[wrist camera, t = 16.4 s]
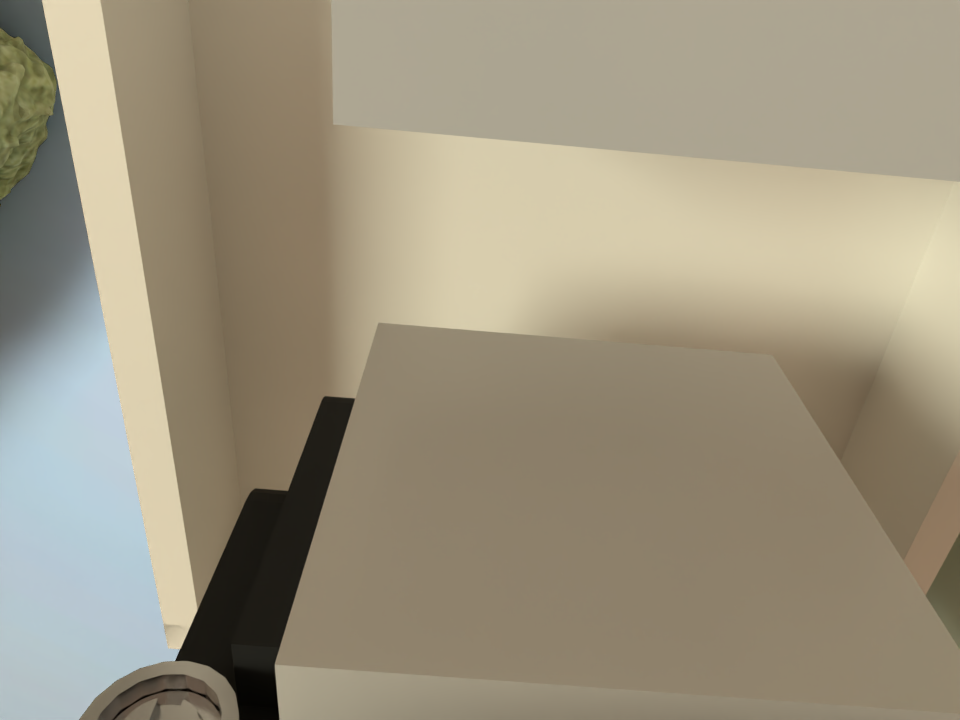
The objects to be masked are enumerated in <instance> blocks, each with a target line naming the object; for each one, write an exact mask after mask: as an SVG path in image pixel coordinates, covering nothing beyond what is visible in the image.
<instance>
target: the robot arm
mask: <svg viewBox="0 0 960 720" xmlns="http://www.w3.org/2000/svg"><path fill="white" fill-rule="evenodd" d="M354 401H355V398H344V397H331V396H324V397H323V399H322V401H321V403H320V406H319V409H318V411H317V414H316V417H315V419H314V422H313V425H312V428H311V430H310V433H309V436H308V438H307V441H306V444H305V446H304V449H303V452H302V454H301V457H300V460H299V462H298V465H297V468H296V470H295V473H294V476H293V478H292V481H291V484H290V487H289V489H288V491H284V490H271V489H258V488H255V489H254V490H252V491H251V492H250V494H249V496H248V497H247V499H246V501H245V503H244V506H243V508H242V510H241V512H240V515H239V517H238V519H237V522H236V524H235V526H234V528H233V531H232V533H231V535H230V537H229V540H228V542H227V544H226V547H225V549H224V551H223V553H222V556H221V558H220V560H219V562H218V565H217V567H216V569H215V572H214V574H213V576H212V578H211V581H210V583H209V585H208V588H207V590H206V592H205V594H204V597H203V599H202V601H201V603H200V606H199V608H198V610H197V613H196V615H195V617H194V619H193V622H192V624H191V626H190V628H189V631H188V633H187V635H186V638H185V640H184V642H183V644H182V647H181V649H180V651H179V653H178V656H177V658H176V660H175V661H170V662H161V663H158V664H154V665H150V666H147V667H143V668H140V669H138V670H136V671H134V672H132V673H130V674H128V675H126V676H124V677H123V678H121V679H119V680H117V681H115V682H114V683H113V684H112V685H111V686H109V687H108V688H107V689H106V690H105V691H103V692H102V693H101V694H100V695H99V696H97V697H96V698H95V699H94V701H93V702H92V703H91V705H90V706H89V707H88V708H87V710H86V711H85V712H84V714H83V715H82V716H81V718H80V719H79V720H280V719H279V708H278V697H277V686H276V675H275V662H276V658H277V655H278V652H279V648H280V645H281V642H282V639H283V635H284V632H285V629H286V625H287V622H288V619H289V616H290V612H291V609H292V606H293V602H294V599H295V596H296V592H297V589H298V586H299V583H300V579H301V576H302V573H303V569H304V566H305V563H306V560H307V556H308V553H309V550H310V546H311V543H312V540H313V536H314V533H315V530H316V527H317V523H318V520H319V517H320V513H321V510H322V507H323V504H324V500H325V497H326V494H327V490H328V487H329V484H330V480H331V477H332V474H333V471H334V467H335V464H336V461H337V457H338V454H339V451H340V448H341V444H342V441H343V438H344V434H345V431H346V428H347V424H348V421H349V418H350V415H351V411H352V408H353V405H354Z"/></svg>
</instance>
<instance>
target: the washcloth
mask: <svg viewBox="0 0 960 720" xmlns="http://www.w3.org/2000/svg"><path fill="white" fill-rule="evenodd" d="M56 89H57V81H56V78H55V75H54V72H53V69H52V68H51V67H50V66H49V65H48V64H46V63H44V62H43V61H41V60H40V59H39V57H38V56H37V55H36V54H35V53H34V52H33V51H32V50H31V49H29V48H28V47H27V46H25V45H24V42H23V40H22V39H21V38H20V37H16V38H13V37H11V36H9V35H8V34H7V33H6V32H5V31H4V30H3V29H1V28H0V200H1V199H2V198H4V197H5V196H7V194H9V193H11V189H12V188H13V187H14V186H15V185H16V184H17V183H18V182H19V181H20V180H21V179H23V178H24V177H25V176H26V175H28V174H29V172H30V170H31V167H32V165H33V162H34V160H35V158H36V154H37V149H38V147H39V146H40V145H41V144H42V143H43V142H44V141H45V140H46V138H47V135H48V131H47V127H46V122H47V120H48V118H49V116H50V115H53V107H54V103H55V95H56ZM0 206H1V204H0Z"/></svg>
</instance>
